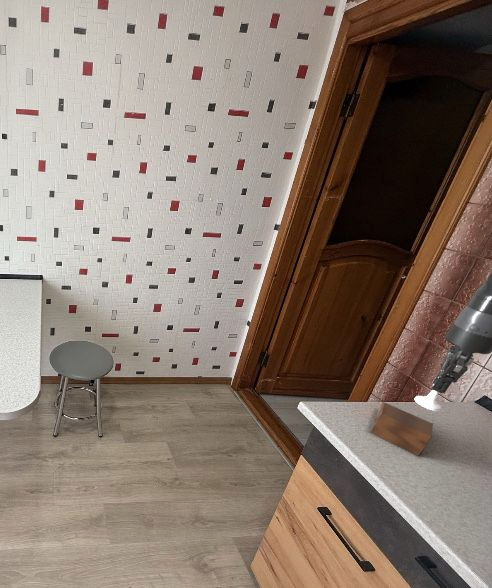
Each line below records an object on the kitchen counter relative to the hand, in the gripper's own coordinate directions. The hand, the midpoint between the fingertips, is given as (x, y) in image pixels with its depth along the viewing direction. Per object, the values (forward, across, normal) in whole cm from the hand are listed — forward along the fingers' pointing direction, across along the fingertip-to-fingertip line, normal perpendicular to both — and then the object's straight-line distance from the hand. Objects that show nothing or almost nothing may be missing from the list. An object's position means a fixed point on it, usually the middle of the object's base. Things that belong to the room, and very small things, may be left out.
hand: (437, 388), depth 82 cm
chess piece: (+5, 0, 0) cm, 5 cm away
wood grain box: (+19, +6, +1) cm, 20 cm away
